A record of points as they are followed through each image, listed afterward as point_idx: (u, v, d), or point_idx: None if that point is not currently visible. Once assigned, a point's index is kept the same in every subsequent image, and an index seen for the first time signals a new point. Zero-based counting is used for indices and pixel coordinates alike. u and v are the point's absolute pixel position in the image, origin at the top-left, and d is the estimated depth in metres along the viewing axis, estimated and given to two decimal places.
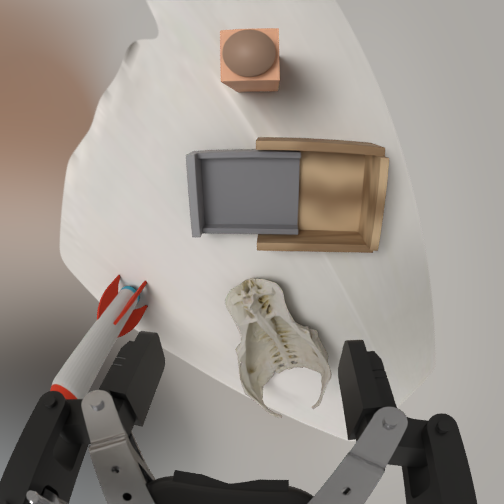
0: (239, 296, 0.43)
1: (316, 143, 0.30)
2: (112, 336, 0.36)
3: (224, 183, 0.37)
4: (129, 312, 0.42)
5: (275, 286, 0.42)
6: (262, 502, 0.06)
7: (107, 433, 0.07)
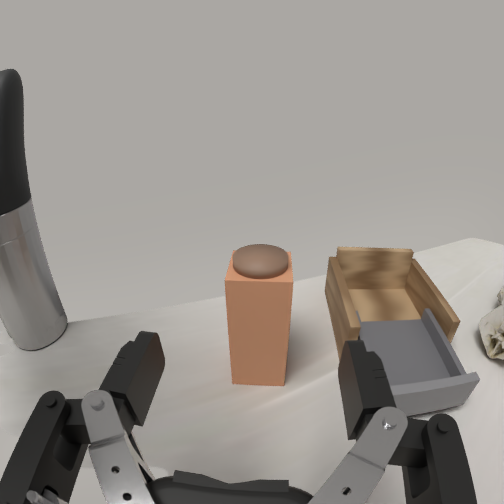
0: None
1: (340, 289, 0.32)
2: None
3: (404, 379, 0.24)
4: None
5: (482, 325, 0.28)
6: (262, 502, 0.06)
7: (107, 433, 0.07)
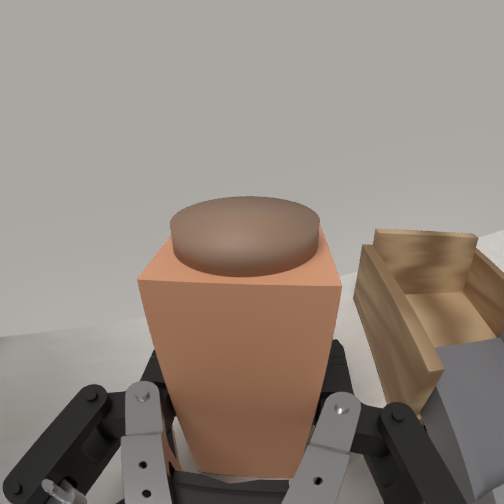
0: None
1: (393, 296, 0.17)
2: None
3: (501, 446, 0.09)
4: None
5: None
6: (262, 502, 0.06)
7: (145, 426, 0.08)
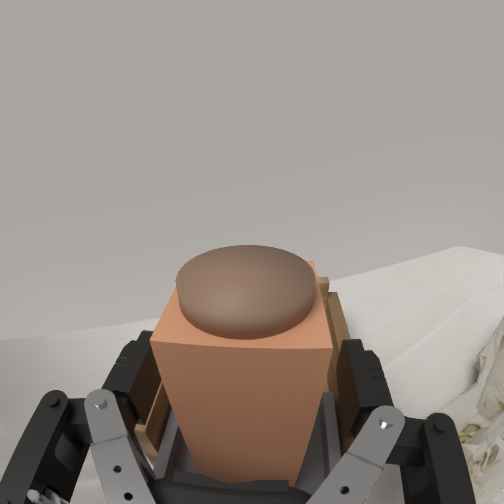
0: None
1: None
2: None
3: None
4: None
5: None
6: (262, 502, 0.06)
7: (109, 432, 0.07)
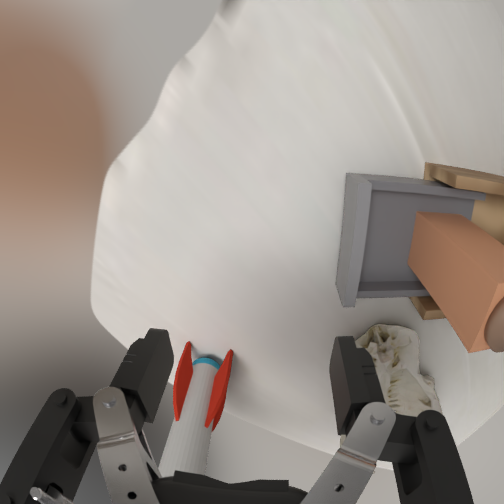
0: None
1: None
2: (207, 445, 0.23)
3: (387, 226, 0.23)
4: None
5: (411, 334, 0.28)
6: (262, 502, 0.06)
7: (117, 430, 0.07)
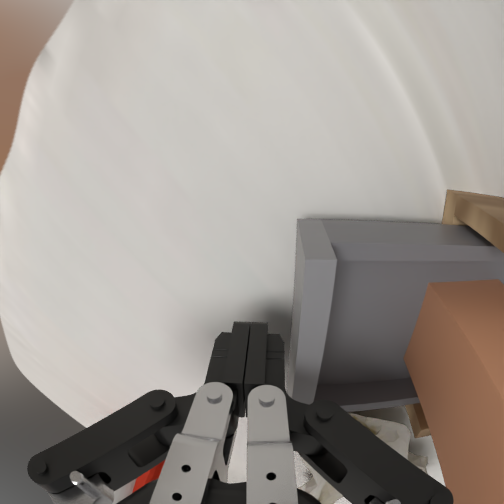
0: None
1: None
2: None
3: (374, 310, 0.13)
4: None
5: (400, 428, 0.17)
6: None
7: (205, 429, 0.08)
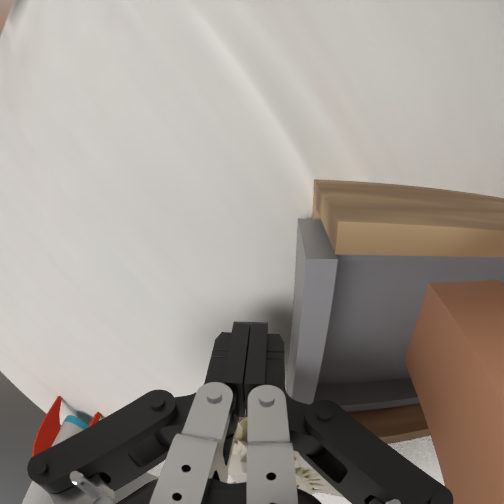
0: (234, 445, 0.19)
1: None
2: None
3: (374, 310, 0.13)
4: None
5: None
6: None
7: (205, 429, 0.08)
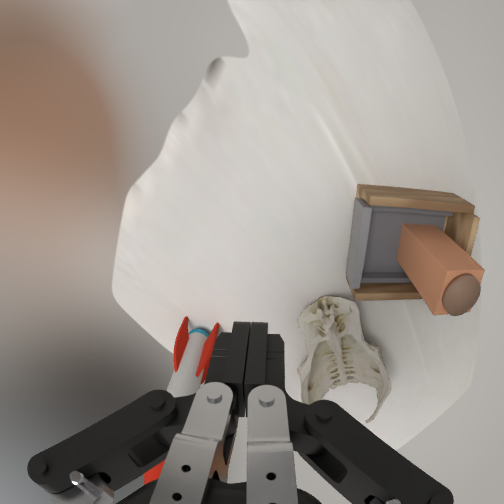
0: (314, 315, 0.40)
1: (423, 201, 0.29)
2: (197, 390, 0.35)
3: (382, 233, 0.35)
4: None
5: (352, 305, 0.39)
6: None
7: (205, 429, 0.08)
